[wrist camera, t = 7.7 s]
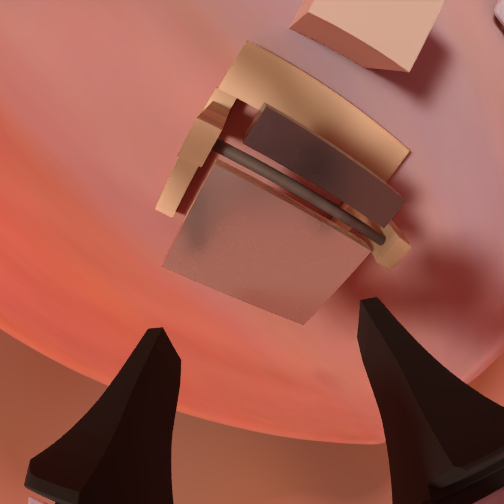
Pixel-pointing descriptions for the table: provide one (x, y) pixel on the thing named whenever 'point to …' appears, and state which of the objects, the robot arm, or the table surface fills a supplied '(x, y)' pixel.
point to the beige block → (370, 29)
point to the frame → (310, 115)
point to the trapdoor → (279, 223)
